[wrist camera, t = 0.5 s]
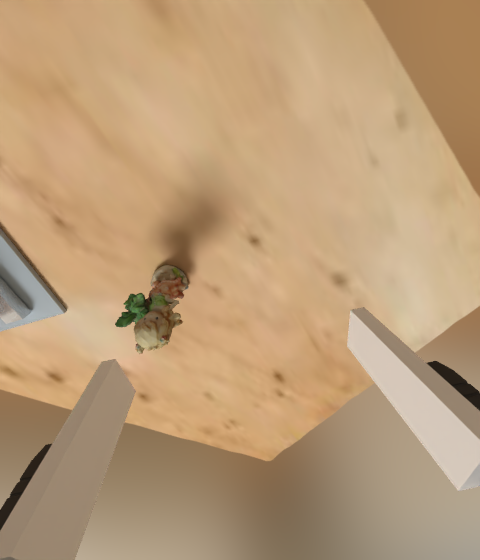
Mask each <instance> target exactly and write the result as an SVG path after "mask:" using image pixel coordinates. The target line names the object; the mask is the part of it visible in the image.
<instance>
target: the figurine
mask: <svg viewBox="0 0 480 560" xmlns="http://www.w3.org/2000/svg"><path fill="white" fill-rule="evenodd" d="M151 287H152V290H151V291H150V293H149V298H148V299H146V300H145V296H144V295H143V294H142V293H139V294H137V295H134V294H130V295H129V298H128V300H127V301H126V302H125V303H124V305H126V307H125V309H127V310H129V311H128V312H122V316H121V317H119V319H118V320H117V322H116V324H115V325H116V326H117V327H126V326H127V325H130V324H131V323H132V321H133V322H135V324H136V325H135V326H134V332H135V338H136V341H137V344H136V350H137V352H138V353H139V354H142V353H143V350H144V349H148V351H150V350H156V349H160V348H162V347H163V346H164V345H168V342H169V339H170V336H171V333H172V328H174V327H176V326H178V325H180V324H182V320H179V319H180V318H181V316H180V314H179V313H173V311H172V309H173V308H174V307H175V306H176V305H177V304H179V301H177V300H174V299H176V298H177V297H178V298H181V299H182V298H183V297H184V294H183V293H182V292H183V291H184V290H185V289H188V282H187V278H186V276H185V274H184V273H183V272H182V271H181V270H180V269H178V268H177V267H174V266H170V265H164V266H162V267H160V268H159V269H157V270H156V271H155V272H154V274H153V277H152V281H151ZM169 304H170V305H169Z"/></svg>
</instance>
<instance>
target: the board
mask: <svg viewBox="0 0 480 560" xmlns="http://www.w3.org/2000/svg"><path fill="white" fill-rule="evenodd" d="M0 278H1V279H2V280H3V281H4V282H5V283H6V284H7V285H8V286H9V288H10V289H11V290H12V291H13V292H14V293H15V294H16V295H17V296H18V297H19V299H20V300H21V301H22V302H23V303H24V304H25V305H26V306H27V307H28V308H29V310H30V311H31V312H32V313H30V314H29V315H28V316H26V317H25V318H24V319H22V320H18V321H15V322H11V323H8V324H6V323H5V322H4V321H3V320H2V319H1V318H0V331H4V330H7V329H11V328H14V327H18V326H21V325H25V324H28V323H32V322H35V321H39V320H42V319H45V318H49V317H52V316H56V315H59V314H63V313H65V312H66V311H67V310H66V309H65V308H64V306H63V305H62V304H61V303H60V301H59V300H58V299H57V298H56V296H55V295H54V294H53V293H52V291H51V290H50V289H49V288H48V287H47V285H46V284H45V283H44V282H43V280H42V279H41V278H40V277H39V275H38V274H37V273H36V272H35V270H34V269H33V268H32V267H31V265H30V264H29V263H28V262H27V260H26V259H25V258H24V257H23V255H22V254H21V253H20V252H19V251H18V249H17V248H16V247H15V246H14V244H13V243H12V242H11V241H10V239H9V238H8V237H7V236H6V234H5V233H4V232H3V231H2V229H1V228H0Z"/></svg>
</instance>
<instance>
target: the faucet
mask: <svg viewBox="0 0 480 560" xmlns="http://www.w3.org/2000/svg"><path fill="white" fill-rule="evenodd" d="M30 313H32V312H31V311H30V310H29V308H28V307H27V306H26V305H25V304H24V303H23V302H22V301H21V300H20V299H19V297H18V296H17V295H16V294H15V293H14V292H13V291H12V290H11V289H10V288H9V286H8V285H7V284H6V283H5V282H4V281H3V280H2V279H1V278H0V318H1V319H2V320H3V321H4V322H5V323H6V324H8V323H11V322H15V321H18V320H22V319H24V318H25V317H26V316H28V315H29V314H30Z"/></svg>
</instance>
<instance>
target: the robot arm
mask: <svg viewBox="0 0 480 560" xmlns="http://www.w3.org/2000/svg"><path fill="white" fill-rule="evenodd" d="M347 347H348V348H349V349H350V351H351V352H352V353H353V354H354V356H355V357H356V358H357V360H358V361H359V362H360V364H361V365H362V366H363V367H364V369H365V370H366V371H367V373H368V374H369V375H370V377H371V378H372V379H373V380H374V382H375V383H376V384H377V386H378V387H379V388H380V390H381V391H382V392H383V393H384V395H385V396H386V397H387V399H388V400H389V401H390V402H391V404H392V405H393V406H394V408H395V409H396V410H397V412H398V413H399V414H400V416H401V417H402V418H403V420H404V421H405V422H406V423H407V425H408V426H409V427H410V429H411V430H412V431H413V433H414V434H415V435H416V436H417V438H418V439H419V440H420V442H421V443H422V444H423V446H424V447H425V448H426V449H427V450H428V452H429V453H430V454H431V456H432V457H433V459H434V460H435V461H436V462H437V464H438V465H439V466H440V468H441V469H442V470H443V472H444V473H445V474H446V475H447V476H448V478H449V479H450V481H451V482H452V483H453V484H454V486H455V487H456V489H457V490H458V491H461V490H465V489H470V488H474V487H479V486H480V393H479V391H478V390H477V389H475V388H474V387H473V386H472V385H471V384H468V383H467V381H466V380H465V379H463V378H462V377H461V376H460V375H458V374H457V373H456V372H455V371H454V370H452V369H450V368H448V367H447V366H445V365H443V364H441V363H439V362H437V361H433V362H428V363H426V362H424V361H423V360H422V359H421V358H420V357H419V356H418V355H417V354H416V353H414V352H413V351H412V350H411V349H410V348H409V347H408V346H407V345H405V344H404V343H403V342H402V341H401V340H400V339H399V338H398V337H397V336H395V335H394V334H393V333H392V332H391V331H390V330H389V329H388V328H387V327H385V326H384V325H383V324H382V323H381V322H380V321H379V320H378V319H376V318H375V317H374V316H373V315H372V314H371V313H370V312H369V311H368V310H366V309H365V308H364V307H363V308H358V309H353V310H350V322H349V333H348V344H347ZM135 392H136V391H135V389H134V387H133V386H132V384H131V383H130V381H129V379H128V378H127V376H126V375H125V373H124V372H123V370H122V368H121V367H120V365H119V364H118V362H117V361H116V359H113V360H108V361H104V362H101V364H100V365H99V367H98V369H97V370H96V372H95V374H94V375H93V377H92V379H91V380H90V382H89V384H88V385H87V387H86V389H85V390H84V392H83V394H82V395H81V397H80V399H79V400H78V402H77V404H76V405H75V407H74V409H73V410H72V412H71V414H70V415H69V417H68V419H67V421H66V422H65V424H64V425H63V427H62V429H61V430H60V432H59V434H58V435H57V437H56V439H55V440H54V442H53V444H48V445H45V447H44V448H43V449H42V450H41V451H40V452H39V453H38V454H37V455H36V456H35V458H34V459H33V460H32V461H31V463H30V464H29V466H28V467H27V469H26V470H25V472H24V473H23V475H22V477H21V478H20V482H18V483H17V485H16V486H15V488H14V489H13V491H12V492H11V494H10V498H8V499H7V500H6V502H5V503H4V505H3V507H2V508H1V510H0V560H75V557H76V554H77V552H78V549H79V546H80V543H81V541H82V538H83V535H84V532H85V530H86V527H87V524H88V521H89V519H90V516H91V513H92V510H93V507H94V505H95V502H96V499H97V497H98V494H99V491H100V488H101V485H102V483H103V480H104V477H105V474H106V471H107V469H108V466H109V463H110V461H111V458H112V455H113V452H114V449H115V447H116V444H117V441H118V439H119V436H120V433H121V430H122V427H123V425H124V422H125V419H126V417H127V414H128V411H129V408H130V406H131V403H132V400H133V397H134V394H135Z"/></svg>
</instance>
